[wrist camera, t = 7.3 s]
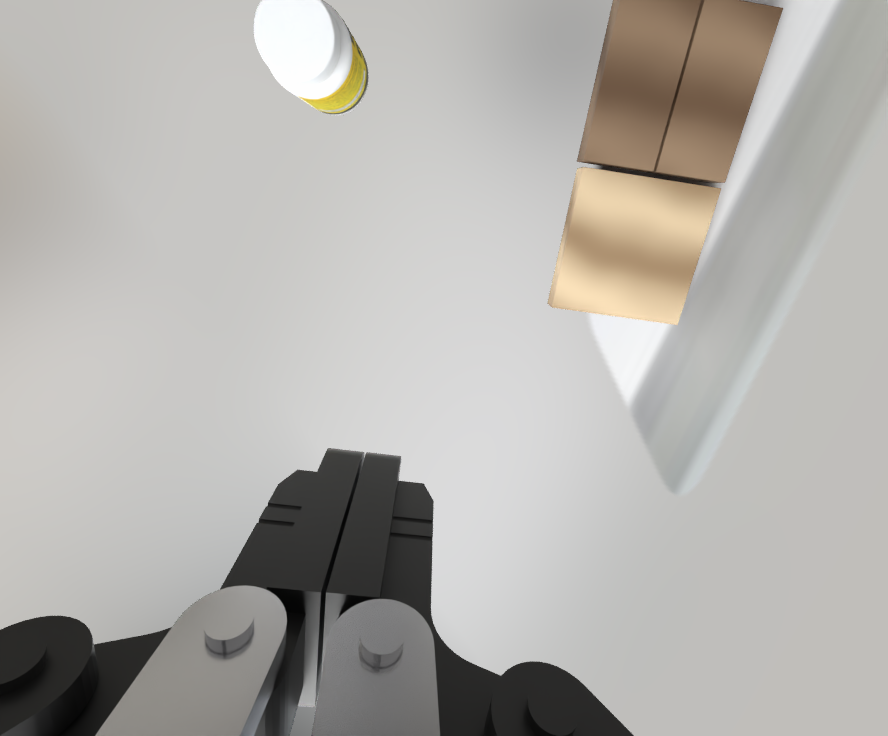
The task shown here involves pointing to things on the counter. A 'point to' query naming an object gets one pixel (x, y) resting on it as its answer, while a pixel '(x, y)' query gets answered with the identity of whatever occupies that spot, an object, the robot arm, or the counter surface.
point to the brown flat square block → (676, 85)
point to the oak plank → (631, 245)
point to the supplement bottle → (311, 53)
